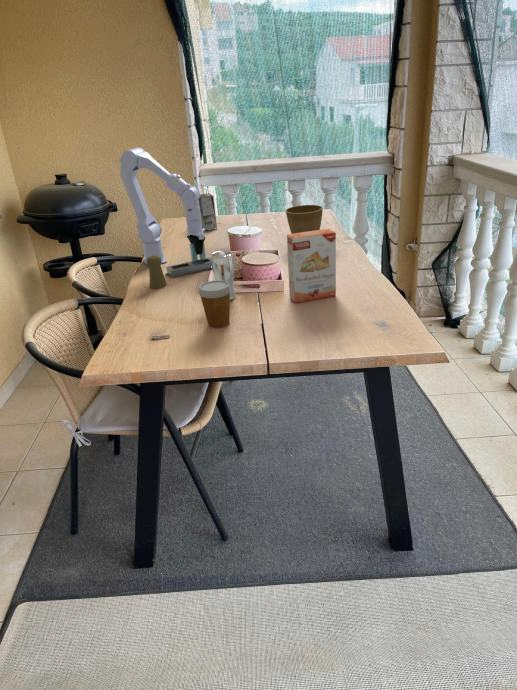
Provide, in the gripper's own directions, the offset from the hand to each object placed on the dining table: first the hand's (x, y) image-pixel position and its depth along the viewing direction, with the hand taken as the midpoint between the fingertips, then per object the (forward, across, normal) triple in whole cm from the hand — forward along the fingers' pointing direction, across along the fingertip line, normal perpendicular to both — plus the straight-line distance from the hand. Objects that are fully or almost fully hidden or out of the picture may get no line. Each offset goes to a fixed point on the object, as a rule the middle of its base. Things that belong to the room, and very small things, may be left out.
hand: (198, 253), depth 208 cm
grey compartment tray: (+3, -8, +6) cm, 11 cm away
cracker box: (+3, -60, -17) cm, 63 cm away
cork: (+4, -17, +22) cm, 28 cm away
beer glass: (+4, -43, +6) cm, 44 cm away
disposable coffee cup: (+4, -61, +16) cm, 63 cm away
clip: (+3, 0, 0) cm, 3 cm away
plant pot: (+4, -11, -43) cm, 45 cm away
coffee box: (+4, +49, -23) cm, 54 cm away
